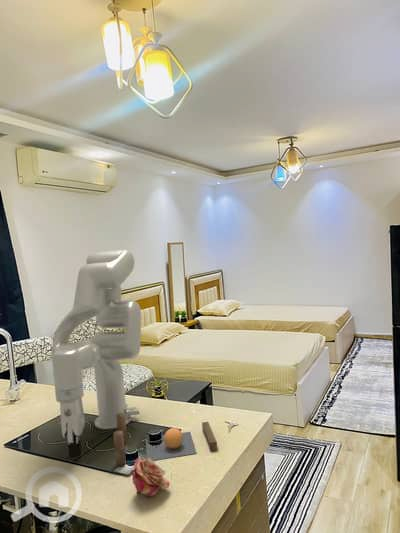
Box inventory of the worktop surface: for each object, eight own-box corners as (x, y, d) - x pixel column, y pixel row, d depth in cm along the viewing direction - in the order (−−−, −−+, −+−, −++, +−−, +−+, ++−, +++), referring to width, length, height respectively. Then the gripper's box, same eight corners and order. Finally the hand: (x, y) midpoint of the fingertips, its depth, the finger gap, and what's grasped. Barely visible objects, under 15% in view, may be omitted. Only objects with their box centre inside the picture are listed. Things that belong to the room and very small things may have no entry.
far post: (127, 440, 122) (124, 412, 122) (127, 444, 120) (124, 415, 120) (118, 442, 122) (116, 413, 122) (118, 446, 120) (115, 416, 119)
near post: (126, 461, 110) (123, 430, 110) (125, 466, 107) (122, 434, 107) (116, 463, 110) (113, 431, 109) (116, 468, 107) (113, 435, 107)
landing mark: (190, 432, 125) (190, 431, 125) (196, 453, 111) (196, 453, 111) (145, 438, 123) (145, 438, 123) (146, 461, 109) (146, 461, 109)
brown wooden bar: (208, 429, 126) (208, 421, 126) (217, 450, 112) (216, 441, 112) (202, 430, 125) (201, 422, 125) (210, 451, 112) (209, 442, 111)
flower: (123, 503, 88) (142, 474, 88) (120, 474, 97) (136, 447, 97) (159, 515, 92) (177, 486, 91) (153, 486, 100) (169, 460, 100)
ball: (180, 423, 119) (162, 427, 118) (181, 430, 113) (162, 434, 112) (184, 441, 118) (165, 446, 118) (185, 449, 113) (166, 454, 112)
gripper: (79, 400, 105) (85, 467, 106) (86, 382, 120) (92, 441, 121) (49, 404, 104) (56, 472, 105) (61, 386, 119) (66, 445, 120)
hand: (75, 455), depth 113 cm, fingers closed
